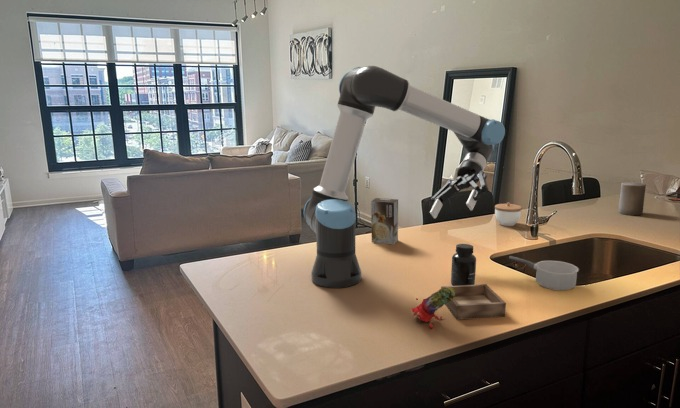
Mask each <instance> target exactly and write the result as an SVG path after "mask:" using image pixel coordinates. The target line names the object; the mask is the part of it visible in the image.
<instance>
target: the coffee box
mask: <svg viewBox="0 0 680 408" xmlns="http://www.w3.org/2000/svg"><path fill="white" fill-rule="evenodd" d="M370 206H371V207H370V208H371V209H370V210H371V214H370V216H371V218H370V219H371V220H370V221H371V223H370V224H371V226H370V227H371V231H370V232H371V243H374V244H376V243H377V244H385V245H386V244H387V245H396V243H397V242H398V241H399V199H396V198H395V199H393V198H381V197H375V198H373V199H372V200H371V202H370Z"/></svg>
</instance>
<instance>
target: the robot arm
mask: <svg viewBox="0 0 680 408" xmlns="http://www.w3.org/2000/svg"><path fill="white" fill-rule="evenodd" d="M338 90H339V91H338V92H339V98H338V101H337V104H336V105H337V108H338V110H339V115H338V119H337V121H336V126H335V129H334V132H333V133H334V134H333V137H332V140H331V143H330V147H329V151H328V153H327V157H326V160H325V163H324V164H325V165H324V168H323V171H322V175H321V177H320V178H321V179H320V183H319V185H317V186H315V187H313V189H312V193H311V197H310V198H309V199H308V200H307V201H306V203H305V205H304V207H303V217H304V221H305V223H306V224H307V226H308V228H310V229H311V231H313V232H314V233H315V235H316V256H315V260H314V262H313V265H312V269H311V281H312V283H314V284H315V285H317V286H320V287H323V288H331V289H332V288H334V289H338V288H339V289H340V288H348V287H353V286H355V285H357V284H359V283H360V282H361V281H362V270H361V267H360V264H359V260H358V258H357V257H358V256H357V255H356V254H357V253H356V221H357V220H356V219H357V214H356V209H355V206H354V204H353V203H351V202H350V201H349V197H348V195H347V194H346V191H347V190H346V189H347V187H348V184H349V179H350V177H351V174H352V170H353V167H354V163H355V160H356V156H357V153H358V150H359V146H360V143H361V138H362V137H363V134H364V129H365V126H366V122H367V120H368V119H370V118H371V117H373V116H374V113H375V109H376V108H377V107H378V108H383V109H387V110H389V111H392V112H398V111H401V112H404V113H407V114H409V115H411V116H414V117H417V118H419V119H421V120H424V121H426V122H429V123H431V124H434V125H436V126H439V127H441V128H444V129H446V130H449V131H452V132H453V133H454V135H455V136H456V138H457V139H458V141H459V142H460V144H461V145H462V147H463V149H464V150H465V152H466V153H465V156H464V158H462V159H463V160H462V161H461V163H460V165H459V167H458V169H457V173H456V178H455V179H453V180H452V179H448V180H447V181H446V182H445V184H444V185H443V186H442V187H441V188H440V189H439V190H438V191H437V192H436V193H435V194H434V195H433V196H432V197H431V198H430V200H431V202H433V204H432V206H431V209H430V211H429V213H430V215H431V217H432V218H433V219H437V217H438V215H439V213H440V211H441V209H442V208H443V203H444V202H446V201H448V199H450V197H452V196H454V195H455V194H457V193H460V191H461V190H464V189H469V188H470V187H471V188H472V190H471V192H470V194H469V197H468V199H467V201H466V202H465V204H466V205H465V206H467V208H469V210H470V211H473V210H474V207H475V206H476V204H477V201H479V200H480V197H481V196H482V195H483V194H484V193H488V192H489V187H488V182H487V177H488V176H487V175H486V173H485V171H484V170H485V169H486V166H487V164H488V162H489V161H490V159H491V156H492V155H493V153H494V149H495V145H499V144H500V143H501V142H502V141H503V140H504V137H505V136H506V129H505V126H504V124H503V123H502V122H501V121H499V120H496V119H489V118H487V117H485V116H481V115H479V114H478V113H475V112H472V111H470V110H468V109H466V108H465V107H461V106H459V105H456V104H454V103H452V102H450V101H447V100H445V99H442V98H441V97H438V96H436V95H433V94H431V93H430V92H426V91H424V90H422V89H419V88H417V87H415V86H412V85H410V82H409V80H407V79H405V78H403V77H400V76H399V75H397V74H395V73H393V72H391V71H389V70H387V69H385V68H383V67H379V66H375V65H366V66H358V67H354V68H351V69H349V70H348V71H347V72H345V74H344V75H343V76H342V77H341V79H340V81H339V84H338ZM478 182H479V183H480V186H479V185H478V184H477V183H478Z"/></svg>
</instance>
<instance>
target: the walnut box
mask: <svg viewBox="0 0 680 408" xmlns="http://www.w3.org/2000/svg"><path fill="white" fill-rule="evenodd" d="M445 287H448V288H453V289H454V290H455V296H454V298H453V300H452V301H450V302H448V303H446V304H444V305H445V306H446V308H447V309H448V311H449V312H450V313H451V315H452V316H453V317H454V318H455V320H470V319H473V320H474V319H487V318H489V319H490V318H500V317H502V318H503V317H506V310H507V309H506V308H507V303H506V302H505V301H504V299H502V298H501V297H500V296H499V295H498V294H497V293H496V292H495V291H494V290H493V289H492V288H491V287H490V286H488V285H487V284H486V283H485V284H484V283H483V284H482V283H481V284H475V285H461V286H452V285H445V286H440V289H441V288H445Z"/></svg>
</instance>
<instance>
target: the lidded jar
mask: <svg viewBox="0 0 680 408" xmlns="http://www.w3.org/2000/svg"><path fill="white" fill-rule="evenodd" d="M494 215H495V219H496V221H497V222H498V223H499V225H501V226H504V227H513V226H516V224H517V223H518V222H519V221H520V219H521V215H522V206H521V205H519V204H514V203H510V202H509V201H508V202H506V203H497V204H495V205H494Z"/></svg>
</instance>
